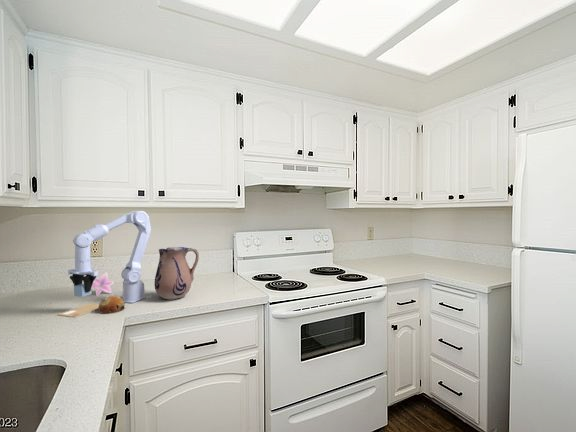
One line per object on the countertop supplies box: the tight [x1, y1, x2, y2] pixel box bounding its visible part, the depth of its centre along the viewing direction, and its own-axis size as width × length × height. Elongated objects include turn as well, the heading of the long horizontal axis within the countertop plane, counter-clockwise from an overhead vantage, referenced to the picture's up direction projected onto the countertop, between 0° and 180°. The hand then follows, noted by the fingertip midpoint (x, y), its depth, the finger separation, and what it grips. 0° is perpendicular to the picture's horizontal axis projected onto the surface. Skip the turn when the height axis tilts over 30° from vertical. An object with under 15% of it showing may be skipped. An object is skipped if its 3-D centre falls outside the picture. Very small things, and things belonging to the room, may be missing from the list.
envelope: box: [56, 302, 100, 318], centre depth 133 cm, size 16×10×1 cm, turn 165°
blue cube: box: [73, 282, 92, 298], centre depth 133 cm, size 4×4×4 cm
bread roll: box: [97, 295, 126, 315], centre depth 134 cm, size 10×10×8 cm
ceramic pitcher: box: [153, 246, 200, 301], centre depth 153 cm, size 18×21×25 cm
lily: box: [91, 272, 115, 296], centre depth 160 cm, size 12×12×10 cm
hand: (83, 291), depth 133 cm, fingers closed on blue cube, 4 cm apart
